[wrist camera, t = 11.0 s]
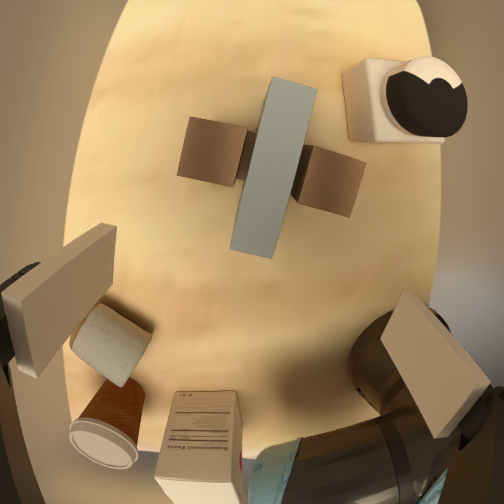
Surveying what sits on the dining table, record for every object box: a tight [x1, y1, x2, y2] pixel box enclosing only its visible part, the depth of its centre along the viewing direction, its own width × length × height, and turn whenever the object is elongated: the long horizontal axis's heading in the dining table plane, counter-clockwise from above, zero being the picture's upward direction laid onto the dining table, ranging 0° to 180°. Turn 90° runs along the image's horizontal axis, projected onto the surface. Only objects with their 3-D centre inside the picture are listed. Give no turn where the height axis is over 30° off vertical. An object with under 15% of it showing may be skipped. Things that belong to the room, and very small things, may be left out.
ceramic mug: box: [69, 303, 152, 387], centre depth 32 cm, size 11×8×8 cm
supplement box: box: [154, 391, 243, 504], centre depth 34 cm, size 9×9×15 cm
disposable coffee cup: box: [69, 378, 145, 469], centre depth 34 cm, size 10×10×12 cm
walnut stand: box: [177, 117, 366, 218], centre depth 24 cm, size 12×4×10 cm, turn 76°
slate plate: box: [230, 77, 317, 259], centre depth 24 cm, size 3×12×10 cm, turn 166°
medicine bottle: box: [342, 56, 467, 144], centre depth 21 cm, size 7×7×12 cm
